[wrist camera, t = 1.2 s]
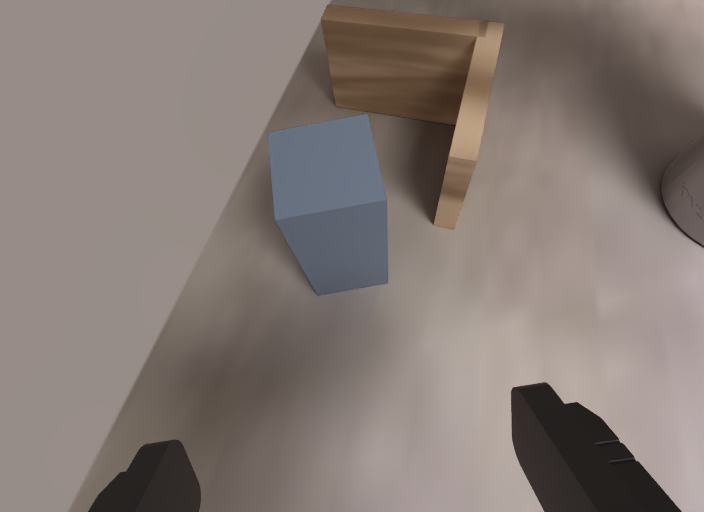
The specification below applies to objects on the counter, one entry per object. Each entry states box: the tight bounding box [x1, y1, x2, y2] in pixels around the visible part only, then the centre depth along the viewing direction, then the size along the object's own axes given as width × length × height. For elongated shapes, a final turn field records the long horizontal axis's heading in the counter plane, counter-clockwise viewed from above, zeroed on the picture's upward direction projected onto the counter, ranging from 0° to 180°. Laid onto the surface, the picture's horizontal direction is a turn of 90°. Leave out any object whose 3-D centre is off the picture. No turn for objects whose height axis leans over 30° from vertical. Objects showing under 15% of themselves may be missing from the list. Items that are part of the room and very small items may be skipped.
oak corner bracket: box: [321, 5, 505, 229], centre depth 27 cm, size 11×12×8 cm
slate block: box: [268, 114, 388, 295], centre depth 23 cm, size 5×5×11 cm
